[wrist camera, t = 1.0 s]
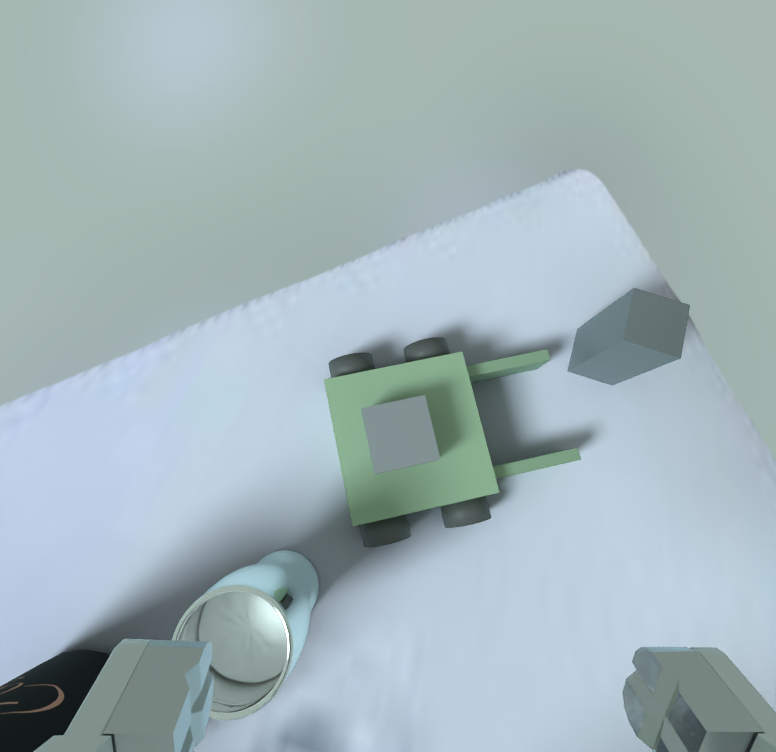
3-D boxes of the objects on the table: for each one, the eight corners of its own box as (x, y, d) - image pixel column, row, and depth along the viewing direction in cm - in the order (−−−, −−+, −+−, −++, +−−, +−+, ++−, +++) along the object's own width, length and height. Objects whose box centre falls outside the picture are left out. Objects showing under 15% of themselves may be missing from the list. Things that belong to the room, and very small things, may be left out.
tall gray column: (612, 385, 44) (680, 358, 34) (567, 371, 44) (623, 340, 35) (621, 343, 45) (690, 305, 36) (577, 329, 45) (633, 287, 36)
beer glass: (266, 530, 40) (206, 559, 25) (337, 565, 40) (319, 615, 25) (226, 610, 38) (139, 688, 24) (301, 647, 38) (258, 750, 23)
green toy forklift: (573, 493, 42) (620, 496, 34) (359, 544, 40) (356, 559, 32) (525, 330, 45) (557, 299, 37) (325, 370, 43) (315, 346, 36)
